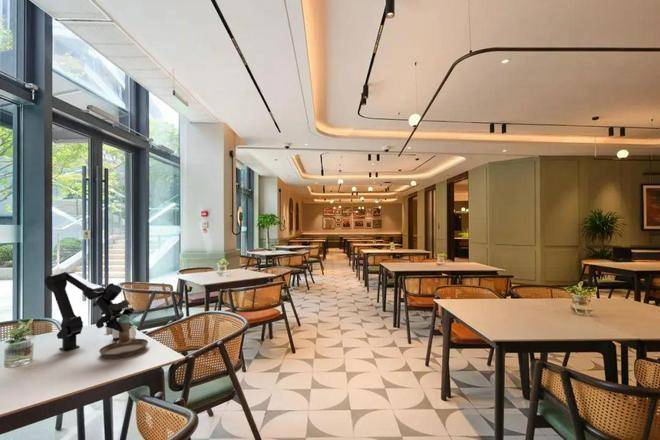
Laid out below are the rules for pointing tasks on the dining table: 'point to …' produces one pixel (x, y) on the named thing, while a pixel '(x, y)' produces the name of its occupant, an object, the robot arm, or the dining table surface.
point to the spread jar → (131, 333)
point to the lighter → (108, 330)
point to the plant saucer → (123, 349)
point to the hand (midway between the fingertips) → (126, 329)
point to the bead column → (124, 330)
